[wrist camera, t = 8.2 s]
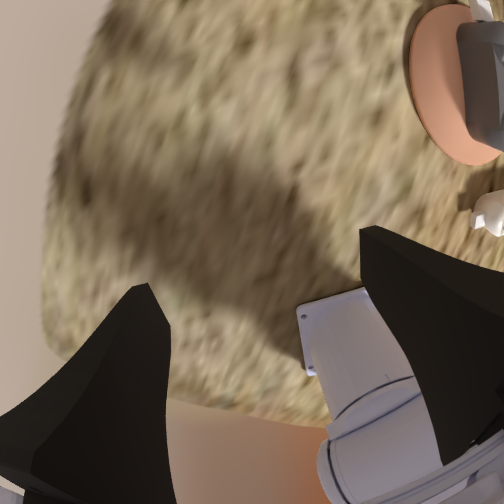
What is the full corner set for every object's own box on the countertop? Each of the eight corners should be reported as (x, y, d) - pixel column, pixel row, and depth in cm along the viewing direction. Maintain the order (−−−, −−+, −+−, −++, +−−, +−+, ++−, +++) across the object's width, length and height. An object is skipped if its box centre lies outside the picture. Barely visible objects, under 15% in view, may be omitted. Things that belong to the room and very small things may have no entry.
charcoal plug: (492, 140, 17) (524, 153, 14) (466, 143, 17) (499, 156, 14) (476, 6, 11) (509, 4, 8) (446, -3, 11) (480, -9, 8)
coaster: (514, 156, 18) (519, 158, 18) (416, 172, 18) (421, 175, 18) (504, 21, 12) (509, 21, 11) (391, -7, 12) (395, -9, 11)
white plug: (517, 185, 20) (536, 196, 18) (513, 210, 21) (531, 223, 19) (464, 198, 20) (486, 213, 18) (461, 228, 22) (480, 243, 19)
